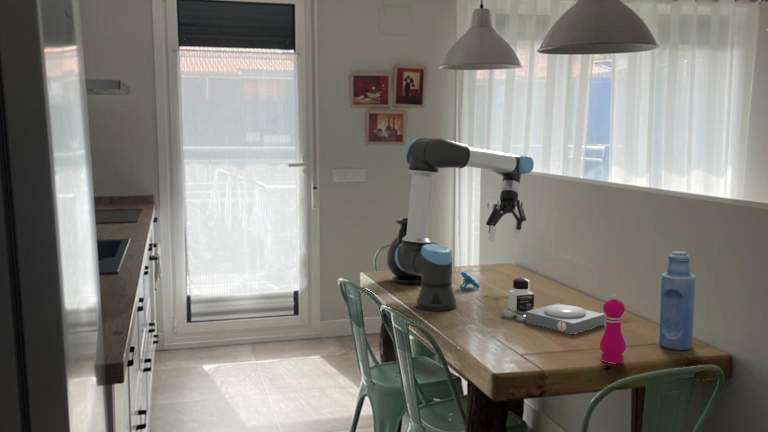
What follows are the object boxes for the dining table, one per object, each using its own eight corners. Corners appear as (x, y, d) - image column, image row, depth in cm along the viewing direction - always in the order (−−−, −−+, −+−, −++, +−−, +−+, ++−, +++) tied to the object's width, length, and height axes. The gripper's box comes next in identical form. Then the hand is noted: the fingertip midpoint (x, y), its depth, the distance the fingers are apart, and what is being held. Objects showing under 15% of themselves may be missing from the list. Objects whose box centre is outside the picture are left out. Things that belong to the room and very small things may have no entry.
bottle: (696, 345, 221) (701, 251, 218) (685, 353, 214) (690, 255, 210) (665, 339, 228) (669, 248, 224) (654, 347, 220) (658, 252, 217)
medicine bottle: (516, 313, 261) (517, 281, 260) (508, 308, 268) (508, 277, 267) (534, 312, 263) (534, 280, 262) (525, 307, 270) (525, 276, 268)
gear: (483, 287, 297) (467, 271, 296) (474, 297, 296) (458, 281, 295) (475, 285, 308) (459, 269, 307) (466, 295, 307) (450, 279, 306)
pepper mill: (594, 360, 208) (596, 294, 205) (606, 355, 213) (608, 290, 210) (617, 366, 203) (620, 298, 200) (629, 360, 208) (632, 294, 205)
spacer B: (524, 323, 249) (524, 318, 248) (513, 320, 252) (513, 315, 252) (533, 320, 252) (533, 315, 251) (522, 318, 256) (522, 312, 255)
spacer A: (510, 319, 254) (510, 314, 253) (499, 316, 257) (499, 311, 257) (519, 317, 257) (519, 312, 256) (508, 314, 261) (508, 309, 260)
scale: (572, 335, 233) (572, 320, 233) (524, 322, 249) (524, 309, 248) (604, 325, 245) (605, 311, 244) (557, 313, 260) (557, 300, 260)
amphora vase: (420, 288, 302) (420, 224, 299) (377, 283, 313) (377, 221, 309) (442, 279, 321) (442, 218, 317) (400, 274, 331) (400, 215, 328)
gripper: (538, 191, 297) (532, 238, 290) (493, 199, 316) (487, 244, 309) (527, 184, 293) (520, 232, 286) (482, 193, 312) (475, 239, 305)
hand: (503, 239), depth 298 cm, fingers open, 13 cm apart
